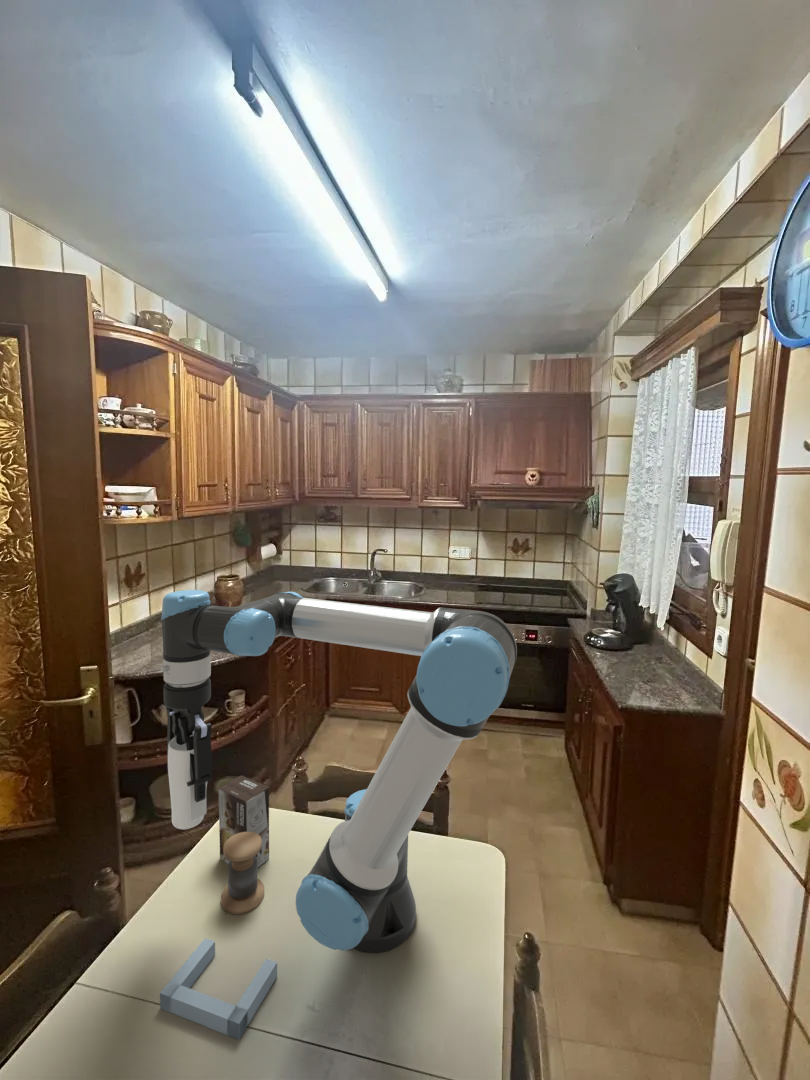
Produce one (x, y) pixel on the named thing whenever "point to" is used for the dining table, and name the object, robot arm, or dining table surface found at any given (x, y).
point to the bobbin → (242, 874)
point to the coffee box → (244, 813)
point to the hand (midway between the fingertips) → (189, 806)
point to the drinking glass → (180, 785)
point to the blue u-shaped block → (209, 1008)
